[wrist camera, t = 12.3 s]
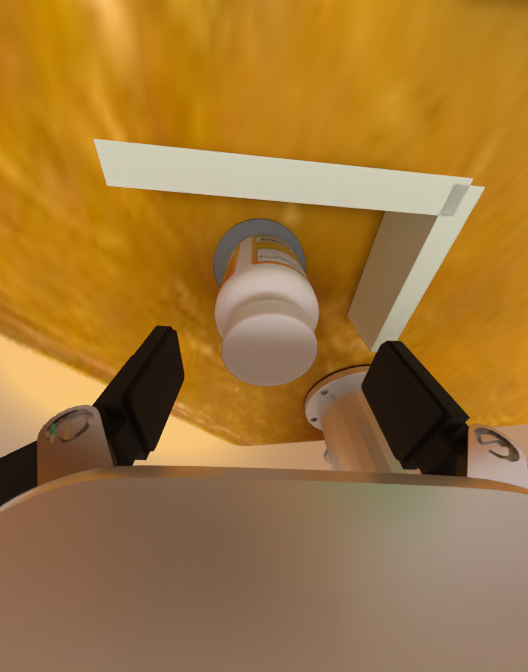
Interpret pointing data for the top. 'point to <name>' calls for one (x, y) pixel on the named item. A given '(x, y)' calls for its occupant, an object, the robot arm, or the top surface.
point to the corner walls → (333, 190)
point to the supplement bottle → (266, 313)
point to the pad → (248, 230)
